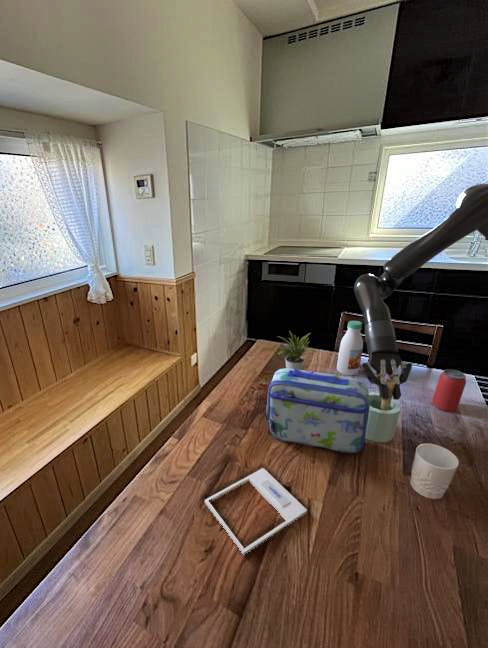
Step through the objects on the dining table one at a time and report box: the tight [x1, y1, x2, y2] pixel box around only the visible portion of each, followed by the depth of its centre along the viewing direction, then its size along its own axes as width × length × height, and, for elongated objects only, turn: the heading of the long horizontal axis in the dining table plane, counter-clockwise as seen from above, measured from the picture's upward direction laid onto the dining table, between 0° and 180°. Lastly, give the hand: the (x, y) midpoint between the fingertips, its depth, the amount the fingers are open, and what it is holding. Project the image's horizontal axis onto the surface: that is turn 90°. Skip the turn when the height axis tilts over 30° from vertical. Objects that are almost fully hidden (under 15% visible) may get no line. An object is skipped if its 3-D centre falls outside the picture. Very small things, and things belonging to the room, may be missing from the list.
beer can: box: [431, 368, 467, 412], centre depth 104 cm, size 7×7×12 cm
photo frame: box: [204, 467, 308, 557], centre depth 77 cm, size 15×1×18 cm
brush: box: [380, 379, 395, 411], centre depth 94 cm, size 4×4×15 cm
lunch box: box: [265, 367, 370, 454], centre depth 93 cm, size 26×11×21 cm, turn 65°
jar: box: [365, 391, 402, 443], centre depth 96 cm, size 10×10×10 cm
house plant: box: [274, 330, 312, 370], centre depth 127 cm, size 14×14×16 cm
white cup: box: [409, 442, 460, 500], centre depth 78 cm, size 8×8×10 cm
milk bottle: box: [336, 320, 364, 376], centre depth 125 cm, size 8×8×20 cm
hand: (391, 398), depth 91 cm, fingers closed on brush, 2 cm apart
